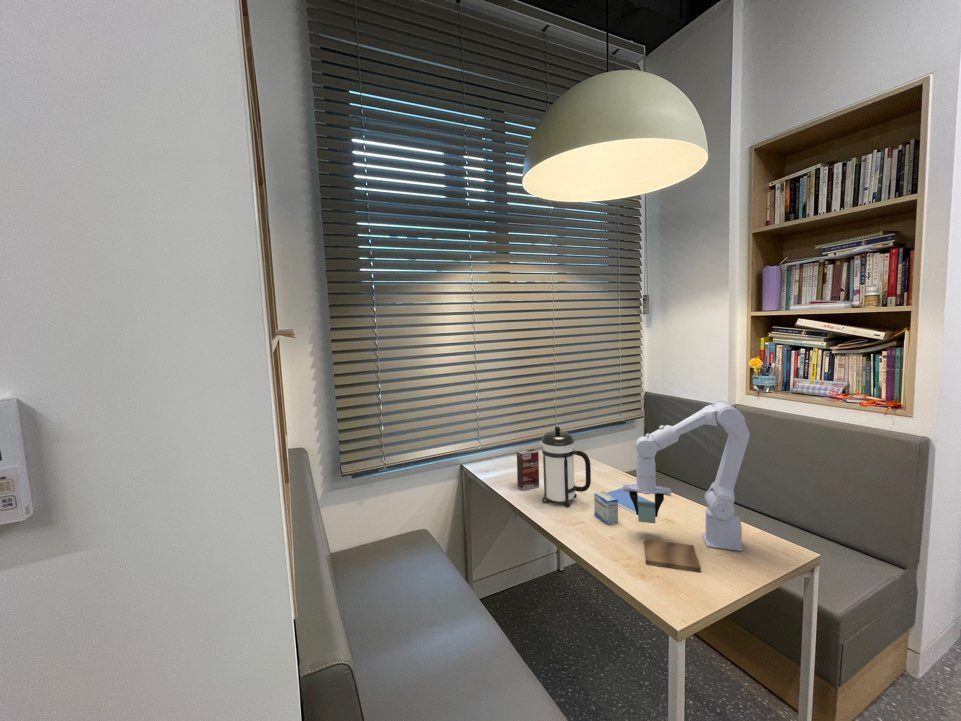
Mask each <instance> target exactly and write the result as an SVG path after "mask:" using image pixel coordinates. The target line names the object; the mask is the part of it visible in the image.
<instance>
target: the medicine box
mask: <svg viewBox="0 0 961 721" xmlns="http://www.w3.org/2000/svg"><path fill="white" fill-rule="evenodd" d="M593 497H594V498H593V499H594V502H593V503H594V504H593V505H594V507H593V508H594V512H593V513H594V514H593V515H594V516H595V517H596V518H597V517H598V518H597V519H599V520H600V519H601V520H600V521H602V522H603V521H604V522H603V523H605V524H607V525H609V524H610V525H614V524H618V523H619V505H618V499H616V498H614V497H613V496H611V495H609V494H608V493H607V492H605V490H602V491H598V492H594V496H593ZM613 523H614V524H613Z"/></svg>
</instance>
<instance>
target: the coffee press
mask: <svg viewBox="0 0 961 721" xmlns="http://www.w3.org/2000/svg"><path fill="white" fill-rule="evenodd" d="M574 443H575V438H574V437H573V435H572V434H571V433H569V432H567V431H563V430H561V427H560V426H555V427H554V431H553V430H552V431H549V432H546V433H544V434H543V436H542V437H541V441H539V443H538V445H540V446H541V445H542V448H541V449H542V450H541V451H542V452H541V453H542V462H543V463H542V466H543V493H544V494H543V497H542V499H541V501H542V503H543V504H547V502H548V501H549V500H550V501H553V502H558V503H559V502H560V503H561V502H563V503H564V506H565V508H569V507H571V504H570V501H571V500H572V499H575V498H577V497H578V495H577V493H576V492H578V493H579V492H586V491H588V490H589V488H590V486H591V482H592V476H591V475H592V473H591V472H592V471H591V469H592V468H591V461H590V457H589V456H588V455H587V453H585V452H584V451H583V450H575V446H574ZM575 456H579V457H581V458H582V460H584V465H585V485H583V486H578V485H576V484H575Z"/></svg>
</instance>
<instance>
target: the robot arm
mask: <svg viewBox="0 0 961 721" xmlns="http://www.w3.org/2000/svg"><path fill="white" fill-rule="evenodd" d="M717 423H719V425H720V426H722V428H723V429H724V430H725V432H726V433H727V435H728V436H727V439H726V443H725V446H724V448H723V453H722V455H721V459H720V464H719V467H718V470H717V473H716V476H715V481H713V482H712V483H711V485H710V487H709V489H708V490H706V492H705V493H704V496H703V497H704V498H703V499H704V502H705V503H706V504H707V508H706V510H705V532H702V533H701V534H702V538H703V539H704V542H705V545H706V547H709V548H715V549H722V550H724V549H725V550H730V551H731V550H732V551H738V552H742V551H743V548H742V547H743V546H742V542H743V541H742V540H743V537H742V536H743V526H742V521H741V518H740V516H737V515H735V512H736V510H735V506H734V505H735V498H736V497H735V491H734V489H735V486H736V482H737V480H738V476H739V473H740V469H741V466H742V463H743V460H744V455H745V452H746V449H747V447H748V443H749V440H750V434H751V433H750V431H749V428H748V426H747V423H746V419H745V416H744V415H743V414H742V412H741V411H739V409H737V408H736V407H734V406H732V405H731V404H729V403H728V402H726V401H724V400H719V401H715V402H713V403H712V404H708V405H706V406H704V407H703V408H701V409H700V410H698V411H697V412H694V414H692V415H690V416H689V417H687V418H684V419H683V420H681V421H680V422H678V423H676V424H674V425H669V424H666V425H663V424H661V425H660V426H659V429H656V430H655V431H653V432H651V433H646V434H645V435H644V436H640V437H638V438H636V441H635V443H634V447H635V449H636V460H635V463H636V467H635V469H636V471H635V472H636V483H633V484H632V483H630V484H622V487H621V488H623V492H629V494H630V498H631V500H632V502H633V504H634V507H635V510H636V514H635V515H636V516H638V496H639V494H644V495H654V503H655V518H658V516H659V515H658V514H659V511H660V508H661V506H662V504H663V502H664V500H665V497H664V496H666V497H671V496H672V490H671V488H670V487H663V486H659V485H656V484H657V483H656V460H655V457H656V455H657V452H658V451H661V450H663V449H665V448H667V447H669V446H671V445H672V444H675V443H677V442H678V441H679V439H680V436H682V435H684V434H686V433H688V432H690V431H692V430H695V429H697V428H699V427H701V426H705V425H709V426H714V427H715V426H716V427H717V426H718V424H717Z"/></svg>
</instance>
